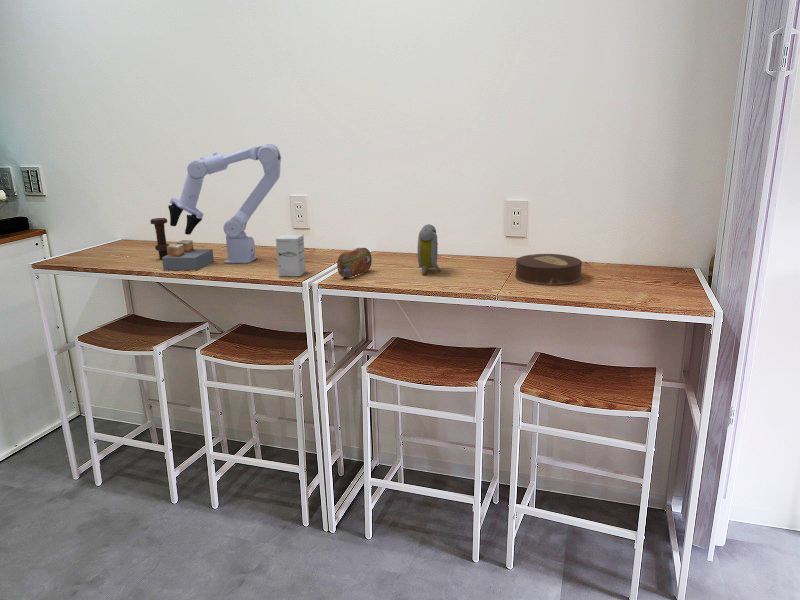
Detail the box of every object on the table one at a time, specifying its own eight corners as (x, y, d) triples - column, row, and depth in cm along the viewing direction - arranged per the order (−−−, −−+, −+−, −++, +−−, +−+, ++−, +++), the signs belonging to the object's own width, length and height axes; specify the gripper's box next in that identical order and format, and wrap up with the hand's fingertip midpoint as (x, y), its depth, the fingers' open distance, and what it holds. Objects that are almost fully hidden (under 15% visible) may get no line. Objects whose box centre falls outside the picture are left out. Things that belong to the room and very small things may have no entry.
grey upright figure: (422, 267, 212) (421, 223, 208) (442, 267, 211) (442, 223, 207) (417, 276, 201) (416, 229, 197) (439, 276, 200) (438, 229, 196)
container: (502, 274, 201) (503, 255, 199) (554, 267, 209) (555, 249, 207) (540, 290, 183) (541, 269, 182) (595, 282, 191) (596, 262, 189)
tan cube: (184, 256, 222) (183, 244, 220) (179, 259, 218) (177, 246, 217) (174, 256, 222) (172, 244, 221) (168, 259, 218) (166, 246, 217)
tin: (343, 280, 198) (342, 254, 196) (336, 279, 200) (334, 253, 198) (372, 270, 210) (371, 245, 208) (365, 269, 212) (364, 244, 210)
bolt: (167, 260, 233) (162, 220, 229) (154, 261, 233) (148, 220, 229) (173, 257, 238) (168, 217, 234) (160, 257, 239) (154, 217, 234)
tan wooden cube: (193, 252, 228) (192, 240, 227) (188, 254, 224) (187, 242, 223) (183, 252, 229) (182, 240, 228) (178, 254, 225) (176, 242, 224)
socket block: (213, 261, 230) (212, 249, 228) (196, 270, 216) (194, 257, 215) (182, 261, 231) (181, 248, 230) (163, 270, 218) (161, 257, 217)
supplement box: (278, 276, 205) (274, 238, 202) (285, 271, 212) (282, 234, 209) (300, 277, 204) (297, 238, 201) (306, 271, 211) (303, 234, 208)
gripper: (167, 185, 221) (157, 221, 224) (196, 200, 215) (185, 237, 219) (183, 187, 227) (173, 222, 231) (211, 202, 222) (200, 238, 225)
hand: (180, 230), depth 225 cm, fingers open, 7 cm apart
